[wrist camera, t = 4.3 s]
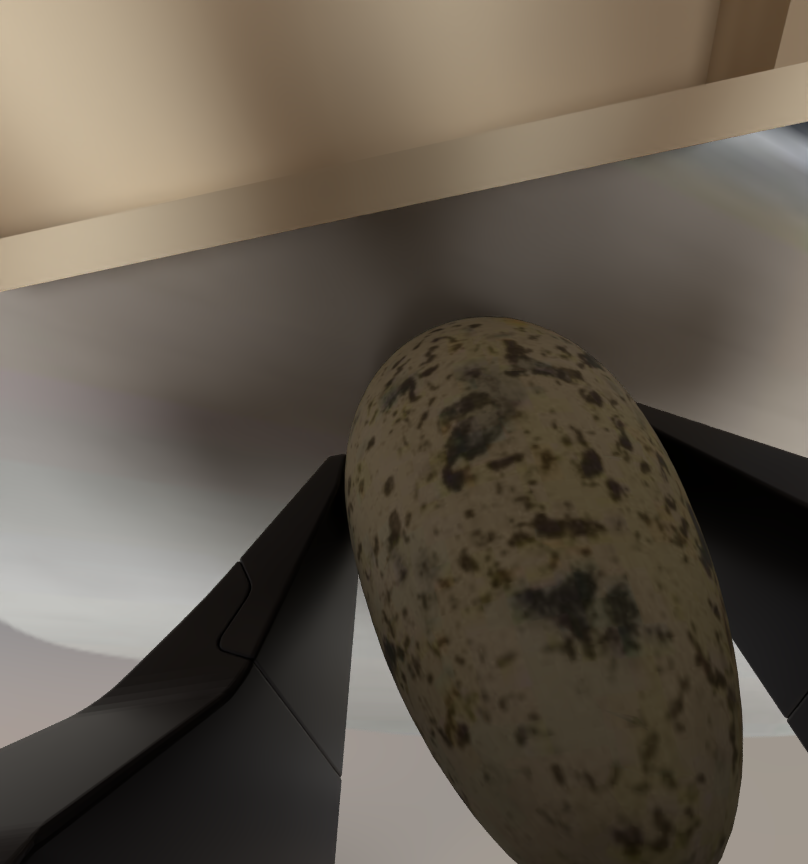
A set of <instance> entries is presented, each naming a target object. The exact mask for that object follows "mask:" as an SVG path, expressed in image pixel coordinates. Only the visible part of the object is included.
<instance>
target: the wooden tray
mask: <svg viewBox="0 0 808 864" xmlns="http://www.w3.org/2000/svg"><path fill="white" fill-rule="evenodd" d="M807 121H808V0H0V292H2V291H6V290H11V289H16V288H21V287H25V286H30V285H35V284H40V283H44V282H49V281H54V280H59V279H63V278H68V277H73V276H78V275H82V274H87V273H92V272H96V271H101V270H106V269H111V268H115V267H120V266H125V265H130V264H134V263H139V262H144V261H149V260H153V259H158V258H163V257H168V256H172V255H177V254H182V253H186V252H191V251H196V250H201V249H205V248H210V247H215V246H220V245H224V244H229V243H234V242H239V241H243V240H248V239H253V238H258V237H262V236H267V235H272V234H276V233H281V232H286V231H291V230H295V229H300V228H305V227H310V226H314V225H319V224H324V223H329V222H333V221H338V220H343V219H348V218H352V217H357V216H362V215H366V214H371V213H376V212H381V211H385V210H390V209H395V208H400V207H404V206H409V205H414V204H419V203H423V202H428V201H433V200H438V199H442V198H447V197H452V196H456V195H461V194H466V193H471V192H475V191H480V190H485V189H490V188H494V187H499V186H504V185H509V184H513V183H518V182H523V181H528V180H532V179H537V178H542V177H546V176H551V175H556V174H561V173H565V172H570V171H575V170H580V169H584V168H589V167H594V166H599V165H603V164H608V163H613V162H618V161H622V160H627V159H632V158H636V157H641V156H646V155H651V154H655V153H660V152H665V151H670V150H674V149H679V148H684V147H689V146H693V145H698V144H703V143H708V142H712V141H717V140H722V139H726V138H731V137H736V136H741V135H745V134H750V133H755V132H760V131H764V130H769V129H774V128H779V127H783V126H788V125H793V124H798V123H802V122H807Z"/></svg>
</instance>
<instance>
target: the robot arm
mask: <svg viewBox="0 0 808 864" xmlns="http://www.w3.org/2000/svg"><path fill="white" fill-rule="evenodd" d="M635 403H636V402H635ZM636 404H637V406H638V407H639V409H640V410H641V411H642V413H643V414H644V416H645V417H646V419H647V421H648V422H649V424H650V425H651V427H652V428H653V430H654V431H655V433H656V434H657V436H658V438H659V440H660V441H661V443H662V445H663V447H664V449H665V450H666V452H667V454H668V456H669V458H670V460H671V462H672V464H673V466H674V468H675V470H676V472H677V474H678V477H679V479H680V481H681V483H682V485H683V487H684V490H685V492H686V495H687V497H688V499H689V502H690V504H691V507H692V509H693V512H694V514H695V516H696V519H697V521H698V524H699V526H700V528H701V531H702V534H703V537H704V539H705V542H706V545H707V548H708V550H709V554H710V557H711V560H712V563H713V566H714V569H715V572H716V575H717V579H718V582H719V586H720V590H721V594H722V598H723V602H724V606H725V610H726V614H727V618H728V622H729V627H730V632H731V637H732V639H733V641H734V642H735V644H736V645H737V647H738V648H739V650H740V651H741V653H742V654H743V656H744V657H745V659H746V660H747V662H748V663H749V665H750V666H751V668H752V669H753V671H754V672H755V674H756V675H757V677H758V678H759V680H760V681H761V683H762V684H763V686H764V687H765V689H766V690H767V692H768V693H769V695H770V696H771V698H772V699H773V701H774V702H775V704H776V705H777V707H778V708H779V710H780V711H781V713H782V714H783V716H784V717H785V718H788V719H787V722H788V724H789V725H790V727H791V728H792V730H793V731H794V733H795V734H796V736H797V737H798V738H799V740H800V742H801V743H802V745H803V746H804V748H805V749H806V750H807V752H808V458H806V457H803V456H800V455H797V454H794V453H791V452H787V451H784V450H781V449H778V448H775V447H772V446H769V445H766V444H763V443H760V442H757V441H754V440H750V439H747V438H744V437H741V436H738V435H735V434H732V433H729V432H726V431H723V430H720V429H717V428H714V427H710V426H707V425H704V424H701V423H698V422H695V421H692V420H689V419H686V418H683V417H680V416H677V415H674V414H670V413H667V412H664V411H661V410H658V409H655V408H652V407H649V406H646V405H643V404H640V403H636ZM345 464H346V454H341V455H336V456H331V457H329V458H328V459H327V460H326V461H325V462H324V463H323V464H322V465H321V467H320V468H319V469H318V470H317V471H316V472H315V474H314V475H313V476H312V477H311V478H310V479H309V480H308V482H307V483H306V484H305V485H304V486H303V487H302V488H301V490H300V491H299V492H298V493H297V494H296V495H295V496H294V498H293V499H292V500H291V501H290V502H289V503H288V504H287V506H286V507H285V508H284V509H283V510H282V511H281V512H280V514H279V515H278V516H277V517H276V518H275V519H274V520H273V522H272V523H271V524H270V525H269V526H268V527H267V528H266V530H265V531H264V532H263V533H262V534H261V535H260V536H259V538H258V539H257V540H256V541H255V542H254V543H253V544H252V546H251V547H250V548H249V549H248V550H247V551H246V552H245V554H244V555H243V556H242V557H241V558H240V562H237V563H236V564H235V565H234V566H233V567H232V568H231V569H230V571H229V572H228V573H227V574H226V575H225V576H224V577H223V578H222V580H221V581H220V582H219V583H218V584H217V585H216V586H215V587H214V588H213V589H212V591H211V592H210V593H209V594H208V595H207V596H206V597H205V598H204V599H203V600H202V601H201V602H200V603H199V604H198V605H197V606H196V607H195V608H194V609H193V610H192V611H191V612H190V613H189V614H188V615H187V616H186V617H185V618H184V619H183V620H182V621H181V622H180V623H179V624H178V625H177V626H176V627H175V628H174V629H173V630H172V631H171V632H170V633H169V634H168V635H167V636H166V637H165V638H164V639H163V640H162V641H161V642H160V643H159V644H158V645H157V646H156V647H155V648H154V649H153V650H152V651H151V652H150V653H149V654H148V655H147V656H146V657H145V658H144V659H143V660H142V661H141V662H140V663H139V664H138V665H137V666H136V667H135V668H134V669H133V670H132V671H131V672H130V673H128V675H126V676H125V677H124V678H123V679H122V680H121V681H120V682H119V683H118V684H117V685H116V686H115V687H114V688H112V689H111V690H110V691H109V692H108V693H106V694H105V695H104V696H103V697H101V698H100V699H99V700H97V701H96V702H94V703H93V704H91V705H90V706H88V707H87V708H85V709H83V710H82V711H80V712H78V713H76V714H75V715H73V716H71V717H69V718H67V719H65V720H63V721H60V722H58V723H56V724H54V725H52V726H49V727H47V728H45V729H43V730H41V731H38V732H36V733H34V734H32V735H30V736H28V737H25V738H23V739H21V740H19V741H17V742H14V743H12V744H10V745H8V746H5V747H3V748H1V749H0V864H335V853H336V841H337V828H338V816H339V804H340V803H339V802H340V792H341V778H340V777H341V775H342V765H343V753H344V741H345V729H346V717H347V705H348V693H349V681H350V669H351V656H352V644H353V632H354V620H355V608H356V596H357V584H358V570H357V566H356V562H355V558H354V554H353V549H352V544H351V539H350V533H349V525H348V518H347V510H346V502H345Z"/></svg>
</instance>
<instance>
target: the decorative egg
mask: <svg viewBox="0 0 808 864" xmlns="http://www.w3.org/2000/svg"><path fill="white" fill-rule="evenodd" d="M345 502H346V510H347V518H348V525H349V533H350V539H351V544H352V549H353V554H354V558H355V562H356V566H357V570H358V574H359V578H360V582H361V586H362V589H363V592H364V596H365V599H366V602H367V606H368V609H369V612H370V616H371V619H372V622H373V625H374V628H375V631H376V634H377V637H378V640H379V643H380V646H381V649H382V652H383V654H384V657H385V659H386V662H387V665H388V667H389V669H390V671H391V674H392V676H393V679H394V681H395V683H396V686H397V688H398V690H399V693H400V695H401V697H402V699H403V701H404V703H405V705H406V707H407V709H408V711H409V713H410V715H411V717H412V719H413V721H414V723H415V725H416V726H417V728H418V730H419V732H420V734H421V735H422V737H423V739H424V741H425V743H426V745H427V746H428V748H429V750H430V752H431V754H432V755H433V757H434V759H435V760H436V762H437V763H438V765H439V766H440V767H441V769H442V771H443V773H444V774H445V775H446V777H447V778H448V780H449V781H450V783H451V784H452V786H453V787H454V789H455V790H456V792H457V793H458V795H459V796H460V798H461V799H462V800H463V802H464V803H465V804H466V806H467V807H468V808H469V810H470V811H471V813H472V814H473V815H474V817H475V818H476V819H477V820H478V821H479V823H480V824H481V825H482V826H483V827H484V829H485V830H486V831H487V832H488V833H489V834H490V836H491V837H492V838H493V839H494V840H495V841H496V842H497V843H498V845H499V846H500V847H501V848H502V849H503V850H504V851H505V852H506V853H507V854H508V855H509V856H510V857H511V858H512V859H513V860H514V861H515V862H517V863H518V864H718V863H719V861H720V860H721V858H722V855H723V853H724V850H725V847H726V844H727V842H728V839H729V837H730V834H731V831H732V828H733V824H734V820H735V815H736V811H737V806H738V799H739V793H740V786H741V779H742V762H743V724H742V707H741V698H740V689H739V679H738V672H737V665H736V659H735V652H734V647H733V642H732V637H731V632H730V627H729V622H728V618H727V614H726V610H725V606H724V602H723V598H722V594H721V590H720V586H719V582H718V579H717V575H716V572H715V569H714V566H713V563H712V560H711V557H710V554H709V550H708V548H707V545H706V542H705V539H704V537H703V534H702V531H701V528H700V526H699V524H698V521H697V519H696V516H695V514H694V512H693V509H692V507H691V504H690V502H689V499H688V497H687V495H686V492H685V490H684V487H683V485H682V483H681V481H680V479H679V477H678V474H677V472H676V470H675V468H674V466H673V464H672V462H671V460H670V458H669V456H668V454H667V452H666V450H665V449H664V447H663V445H662V443H661V441H660V440H659V438H658V436H657V434H656V433H655V431H654V430H653V428H652V427H651V425H650V424H649V422H648V421H647V419H646V417H645V416H644V414H643V413H642V411H641V410H640V409H639V407H638V406H637V404H636V403H635V402H634V400H633V399H632V397H631V396H630V395H629V394H628V392H627V391H626V390H625V389H624V388H623V386H622V385H621V384H620V383H619V382H618V381H617V380H616V379H615V377H614V376H613V375H612V374H611V373H610V372H609V371H608V370H607V369H606V368H605V367H604V366H603V365H601V364H600V363H599V362H598V361H597V360H596V359H595V358H593V357H592V356H591V355H590V354H589V353H587V352H586V351H585V350H583V349H582V348H580V347H579V346H578V345H576V344H575V343H573V342H571V341H570V340H568V339H566V338H564V337H562V336H560V335H559V334H557V333H555V332H553V331H551V330H548V329H546V328H543V327H541V326H538V325H535V324H532V323H528V322H525V321H521V320H517V319H511V318H503V317H477V318H466V319H461V320H456V321H452V322H449V323H446V324H442V325H440V326H437V327H434V328H432V329H430V330H428V331H426V332H424V333H422V334H420V335H418V336H416V337H415V338H413V339H412V340H410V341H409V342H408V343H406V344H405V345H403V346H402V347H401V348H400V349H398V350H397V351H396V352H395V353H394V354H393V355H392V356H391V357H390V358H389V359H388V360H387V361H386V362H385V363H384V364H383V366H382V367H381V368H380V369H379V370H378V372H377V373H376V375H375V376H374V378H373V379H372V381H371V382H370V383H369V385H368V387H367V389H366V391H365V393H364V395H363V397H362V399H361V401H360V403H359V406H358V408H357V410H356V413H355V417H354V420H353V423H352V426H351V431H350V435H349V440H348V445H347V454H346V464H345Z"/></svg>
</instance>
